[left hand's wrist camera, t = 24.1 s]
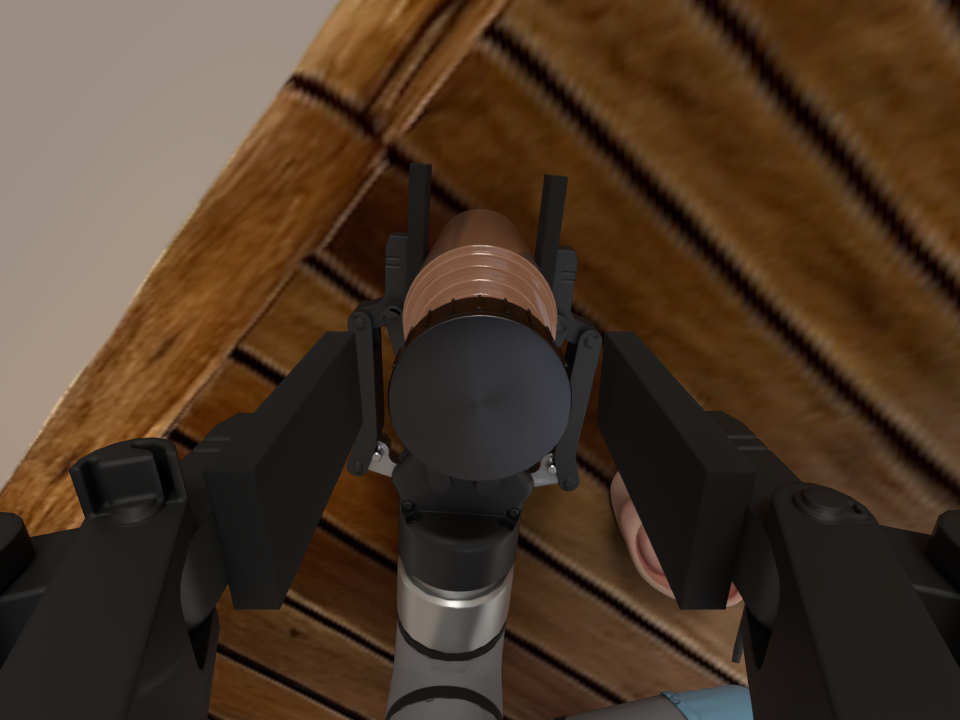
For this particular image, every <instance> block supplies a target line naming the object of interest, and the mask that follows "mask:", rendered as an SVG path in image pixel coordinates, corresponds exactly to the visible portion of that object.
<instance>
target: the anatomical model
mask: <svg viewBox="0 0 960 720" xmlns="http://www.w3.org/2000/svg"><path fill="white" fill-rule="evenodd" d="M610 494H611V501H612V506H613V510H614V513H615V517H616V520H617V523H618V526H619V529H620V531H621V534H622V536H623V538H624V540H625V542H626V545H627V548H628V552H629V555H630V557H631V560H632V562H633V564H634V566H635V568H636V570H637V571H638V573H639V574H640V575H641V577H642V578H643V579H644V580H645V581H646V582H647V583H648V584H649V585H651V586H652V587H653V588H655V589H656V590H658V591H659V592H661V593H663V594H665V595H667V596H669V597H671V598H673V599H675V597H674V594H673V592H672V590H671V588H670V585H669V583H668V581H667V579H666V577H665V574H664V572H663V570H662V568H661V565H660V563H659V561H658V559H657V556H656V554H655V552H654V550H653V547H652V545H651V543H650V541H649V538H648V536H647V534H646V532H645V529H644V527H643V525H642V523H641V520H640V518H639V516H638V514H637V512H636V509H635V507H634V505H633V503H632V500H631V498H630V496H629V494H628V491H627V489H626V487H625V485H624V482H623V480H622V478H621V476H620V473H619V471H618V472H617V473H616V475H615V476H614V478H613V480H612V483H611V488H610ZM741 599H742V597H741V595H740V594H739V592H738V590H737V589H736V587H735V585H734V584H733V582H732V584H731V588H730V592H729V597H728V601H727V605H726V607H727V606H731V605H734V604H736V603H738V602H739V601H740V600H741ZM675 600H676V599H675Z"/></svg>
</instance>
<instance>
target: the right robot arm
mask: <svg viewBox="0 0 960 720" xmlns="http://www.w3.org/2000/svg"><path fill="white" fill-rule="evenodd" d="M431 172H432V164H421V163H410V181H409V214H408V233H404V232H393V233H392V234H391V235H390V236H389V239H388V241H387V244H386V260H385V264H386V266H385V295H384V296H383V297H381V298H378V299H374V300H364V301H363V302H361V303H360V304H359V306H358V307H357V308H356V309H355V310H354V311H353V313H352V314H351V315H350V317H349V318H348V332H355V338H356V349H357V359H358V370H359V381H360V391H361V402H362V412H363V424H362V426H361V429H360V431H359V433H358V435H357V438H356V441H355V444H354V447H353V449H352V452H351V455H350V458H349V461H348V464H347V469H348V471H349V472H350V473H351V474H352V475H354V476H363V475H364V474H366V472H367V471H368V470H371V471H374V472H377V473H380V474H383V475H386V476H389V477H392V483H393V485H394V487H395V489H396V490H397V492H398V494H399V498H400V511H399V544H398V548H399V558H398V579H397V631H396V646H395V659H394V667H393V674H392V680H391V685H390V691H389V697H388V703H387V709H386V715H385V720H503V703H502V679H501V669H502V653H503V642H504V632H505V625H506V620H507V614H508V610H509V603H510V595H511V588H512V581H513V574H514V561H515V557H516V550H517V543H518V535H519V528H520V521H521V513H522V508H523V505H524V503H525V501H526V500H527V499H528V498H529V496H530V495H531V494H532V492H533V489H534V487H540V486H545V485H551V484H556V483H559V486H560V488H561V489H563V490H565V491H572V490H575V489H576V488H577V487H578V485H579V476H578V470H577V464H576V458H575V455H576V451H577V446H578V442H579V438H580V434H581V430H582V425H583V421H584V417H585V413H586V408H587V404H588V400H589V396H590V391H591V387H592V383H593V379H594V375H595V370H596V366H597V362H598V358H599V353H600V349H601V345H602V337H601V335H600V333H599V332H598V331H597V329H596V328H595V326H594V325H593V323H592V322H591V321H590V320H589V319H588V318H585V317H580V316H578V315H576V314H574V313H572V312H571V302H572V295H573V289H574V281H575V276H576V269H577V263H578V261H577V256H576V252H575V250H574V249H573V248H572V247H570V246H559V239H560V231H561V224H562V217H563V210H564V202H565V195H566V188H567V180H568V177H564V176H558V175H547V174H545V176H544V184H543V192H542V200H541V209H540V217H539V225H538V233H537V242H536V250H535V258H534V259H535V261H536V263H537V264H538V266H539V268H540V270H541V272H542V273H543V275H544V277H545V279H546V281H547V282H548V284H549V287H550V289H551V291H552V293H553V296H554V299H555V302H556V309H557V330H556V339H555V343H556V345H557V347H561V345H562V343H563V341H564V340H566V341H568V345H567V349H566V354H565V361H566V363H567V365H568V366H567V367H566V369H567V372H568V375H569V379H570V383H571V388H572V406H571V413H570V417H569V420H568V424H567V426H566V428H565V430H564V433H563V435H562V436H561V438H560V439H559V441H558V443H557V444H556V445H555V446H554V448H553V449H552V450H551V451H550V452H549V453H548V454H547V455H546V456H545V457H544V458H543V459H542V460H540V461H539V462H538V463H536V464H535V465H534V466H532V467H530V468H528V469H527V470H525V471H523V472H520V473H518V474H516V475H513V476H510V477H506V478H503V479H497V480H491V481H469V480H463V479H457V478H454V477H450V476H447V475H444V474H442V473H439V472H437V471H435V470H433V469H431V468H430V467H428V466H426V465H425V464H424V463H422V462H421V461H419V460H418V459H417V458H416V457H415V456H414V455H413V454H412V453H410V451H409V450H408V449H407V448H406V449H405V450H404V451H403V452H402V453H401V454H400V455H399V456H398V455H396V454H395V453H393V451H392V449H391V440H390V438H389V437H388V435H387V434H386V433H381V432H382V429H383V425H384V393H383V370H382V347H381V327H382V326H387V330H388V333H389V337H390V340H391V343H392V347H393V350H394V354H395V357H396V356H397V353H398V351H399V349H400V347H401V348H402V347H403V345H404V343H405V339H404V332H403V308H404V303H405V299H406V295H407V293H408V291H409V288H410V286H411V284H412V282H413V281H414V279H415V277H416V275H417V273H418V272H419V270H420V268H421V266H422V264H423V263H424V261H425V259H426V257H427V255H428V239H429V217H430V194H431ZM548 720H753V713H752V706H751V699H750V692H749V689H747V688H745V687H742V686H738V685H727V686H720V687H713V688H706V689H699V690H693V691H686V692H679V693H673V692H671V691H667V692H666V691H664V692H662V693H660V695H657V696H652V697H648V698H644V699H640V700H635V701H631V702H627V703H623V704H618V705H614V706H610V707H606V708H601V709H597V710H593V711H589V712H584V713H580V714H576V715H571V716H563V717H558V718H553V719H548Z"/></svg>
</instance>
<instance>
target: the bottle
mask: <svg viewBox="0 0 960 720" xmlns="http://www.w3.org/2000/svg"><path fill="white" fill-rule="evenodd" d="M478 295H481V297H492V298H497V299H502V300H504V298H506V299H507V301H508V302H511V303H514V304H516V305H518V306H520V307H522V308H524V309H525V310H527V309H530V310H531V313H532V314H533V315H534V316H535V317H536V318H537V319H539V320H540V321H541V322H542V324H543V325H544V326H548V327H549V329H550V332H551V334H552V337H553V339H554V341H555V339H556V330H557V309H556V302H555V299H554V296H553V293H552V291H551V289H550V287H549V284H548V282H547V281H546V279H545V277H544V275H543V273H542V272H541V270H540V268H539V266H538V264H537V263H536V261H535V259H534V257H533V255H532V254H531V252H530V250H529V248H528V246H527V245H526V243H525V241H524V239H523V237H522V236H521V234H520V232H519V230H518V229H517V227H516V226H515V225H514V224H513V223H512V222H511V221H510V220H509V219H508V218H507V217H505V216H504V215H502V214H500V213H498V212H495V211H492V210H488V209H472V210H468V211H465V212H462V213H460V214H458V215H456V216H455V217H453V218H452V219H451V220H450V221H449V222H448V223H447V224H446V225H445V226H444V227H443V229H442V230H441V232H440V234H439V236H438V237H437V239H436V241H435V243H434V245H433V246H432V248H431V250H430V252H429V254H428V255H427V257H426V259H425V261H424V263H423V264H422V266H421V268H420V270H419V272H418V273H417V275H416V277H415V279H414V281H413V282H412V284H411V286H410V288H409V291H408V293H407V295H406V299H405V303H404V308H403V332H404V339H405V340H406V338H407V335H408V333H409V331H410V328H411V327H412V326H413V327H415V326H416V325H417V323H418V322H419V321H420V320H421V319H422V318H424V317H425V316H426V315H427V314H428V311H429V310H430V309H431V310H432V311H433V310H434V309H436V308H438V307H440V306H442V305H444V304H446V303H449V302H451V300H452V299H454V298H455V300H458V299H463V298H468V297H478Z"/></svg>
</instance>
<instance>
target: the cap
mask: <svg viewBox="0 0 960 720" xmlns="http://www.w3.org/2000/svg"><path fill="white" fill-rule="evenodd" d="M567 366H568V365H567V363H566V361H565V358H564V356H563V354H562V351H561V349H560V347H557V345H556V343H555V341H554V339H553V337H552V334H551V332H550V329H549V327H548V326H544V325H543V324H542V322H541V321H540V320H539V319H537V318H536V317H535V316H534V315H533V314H532V313H531V310H530V309H527V310H525V309H524V308H522V307H520V306H518V305H516V304H514V303H511V302H508V301H507V299H506V298H504V300H502V299H497V298H492V297H481V295H478V297H468V298H463V299H458V300H455V298H454V299H452V300H451V302H449V303H446V304H444V305H442V306H440V307H438V308H436V309H434V310H433V311H432V310H431V309H430V310H429V311H428V314H427V315H426V316H425V317H424V318H422V319H421V320H420V321H419V322H418V323H417V325H416V326H415V327H413V326H412V327H411V328H410V331H409V333H408V335H407V338H406V340H405V343H404V345H403V347H402V348H401V347H400V349H399V351H398V353H397V356H396V358H395V360H394V363H393V365H392V368H394V369H393V371H392V375H391V378H390V382H389V388H388V407H389V414H390V417H391V421H392V424H393V426H394V429H395V431H396V433H397V435H398V436H399V438H400V440H401V441H402V443H403V444H404V445H405V447H406V448H407V449H408V450H409V451H410V453H412V454H413V455H414V456H415V457H416V458H417V459H418V460H419V461H421V462H422V463H424V464H425V465H426V466H428V467H430V468H431V469H433V470H435V471H437V472H439V473H442V474H444V475H447V476H450V477H454V478H457V479H463V480H469V481H491V480H497V479H503V478H506V477H510V476H513V475H516V474H518V473H520V472H523V471H525V470H527V469H528V468H530V467H532V466H534V465H535V464H536V463H538V462H539V461H540V460H542V459H543V458H544V457H545V456H546V455H547V454H548V453H549V452H550V451H551V450H552V449H553V448H554V446H555V445H556V444H557V443H558V441H559V439H560V438H561V436H562V435H563V433H564V430H565V428H566V426H567V424H568V420H569V417H570V413H571V406H572V388H571V383H570V379H569V375H568V372H567V369H566V367H567Z"/></svg>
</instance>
